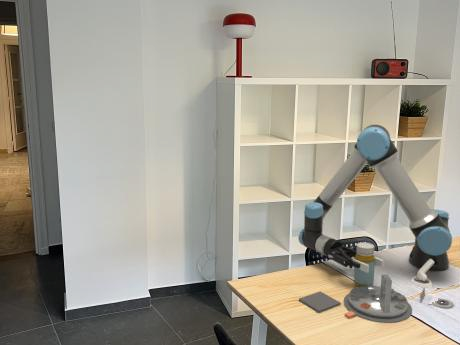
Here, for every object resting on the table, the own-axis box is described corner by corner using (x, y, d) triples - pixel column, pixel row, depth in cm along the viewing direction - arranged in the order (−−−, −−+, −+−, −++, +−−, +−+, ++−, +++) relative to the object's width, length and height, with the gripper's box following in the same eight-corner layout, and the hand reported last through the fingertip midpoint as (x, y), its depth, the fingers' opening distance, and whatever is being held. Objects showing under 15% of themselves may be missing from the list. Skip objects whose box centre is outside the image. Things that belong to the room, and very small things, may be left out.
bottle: (359, 277, 170) (361, 240, 167) (376, 283, 166) (379, 245, 163) (350, 283, 166) (351, 245, 163) (367, 289, 161) (369, 250, 158)
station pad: (320, 293, 160) (320, 291, 160) (340, 304, 151) (340, 302, 151) (298, 300, 154) (298, 298, 154) (318, 313, 146) (319, 310, 146)
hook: (450, 273, 163) (440, 266, 160) (428, 297, 165) (417, 291, 162) (436, 262, 170) (426, 254, 166) (415, 285, 172) (405, 278, 168)
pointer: (351, 313, 146) (351, 310, 145) (355, 316, 144) (355, 313, 144) (344, 316, 144) (344, 313, 144) (349, 319, 142) (349, 316, 142)
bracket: (451, 311, 147) (452, 301, 147) (419, 303, 153) (420, 294, 152) (454, 303, 153) (455, 294, 152) (423, 296, 158) (424, 287, 157)
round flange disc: (342, 290, 160) (344, 256, 158) (395, 291, 160) (398, 256, 157) (356, 318, 142) (358, 280, 139) (416, 318, 141) (419, 280, 139)
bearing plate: (373, 285, 166) (373, 284, 166) (426, 310, 147) (426, 309, 147) (330, 300, 154) (330, 299, 154) (382, 330, 136) (382, 329, 136)
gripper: (346, 250, 185) (393, 269, 166) (310, 261, 174) (355, 283, 155) (347, 233, 183) (394, 250, 164) (311, 243, 173) (356, 262, 154)
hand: (375, 266), depth 160 cm, fingers closed on bottle, 7 cm apart
